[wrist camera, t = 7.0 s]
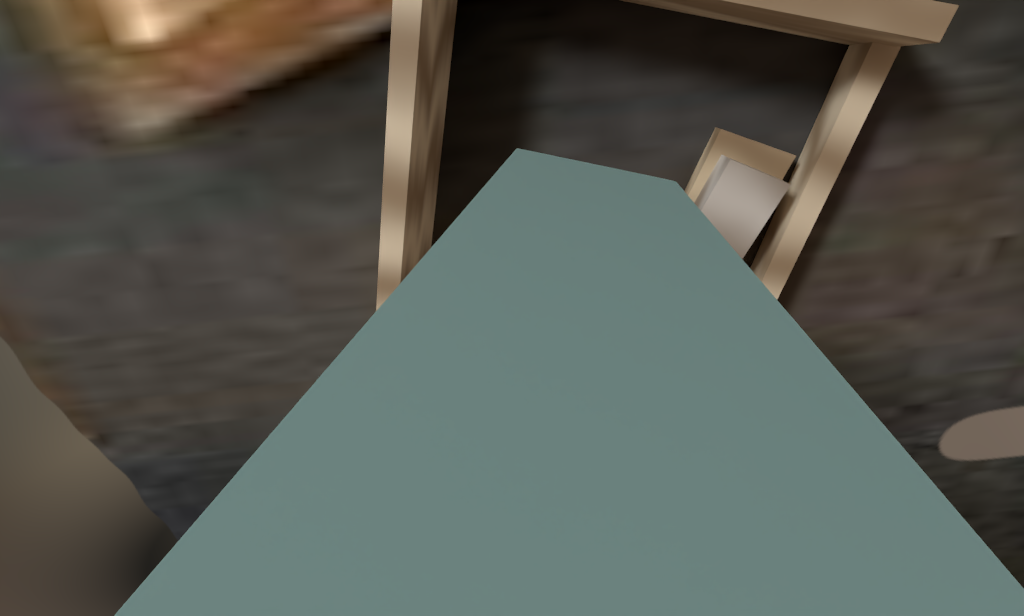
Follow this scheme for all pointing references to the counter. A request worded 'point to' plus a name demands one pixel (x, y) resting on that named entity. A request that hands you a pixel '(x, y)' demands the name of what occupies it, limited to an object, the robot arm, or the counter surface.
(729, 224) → the offcut upper
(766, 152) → the offcut lower
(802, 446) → the teal rectangular block
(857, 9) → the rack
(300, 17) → the counter surface
